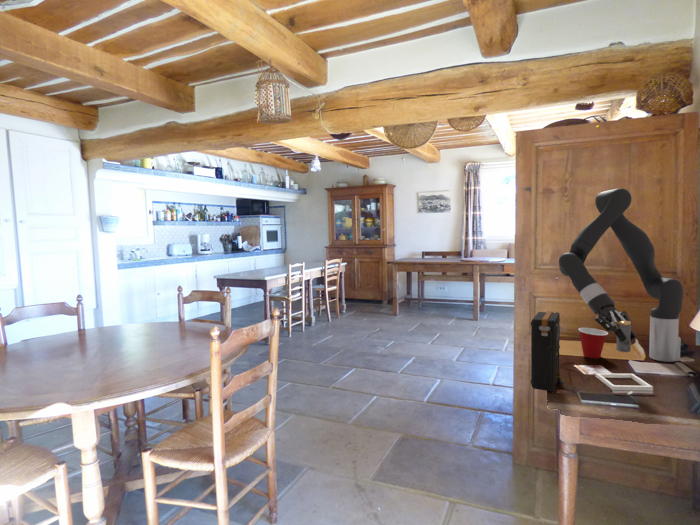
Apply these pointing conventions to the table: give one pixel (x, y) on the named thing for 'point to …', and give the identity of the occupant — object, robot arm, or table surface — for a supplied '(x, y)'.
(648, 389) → the white square tray
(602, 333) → the plastic cup
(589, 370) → the plate
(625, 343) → the battery cell
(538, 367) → the black carrying case
